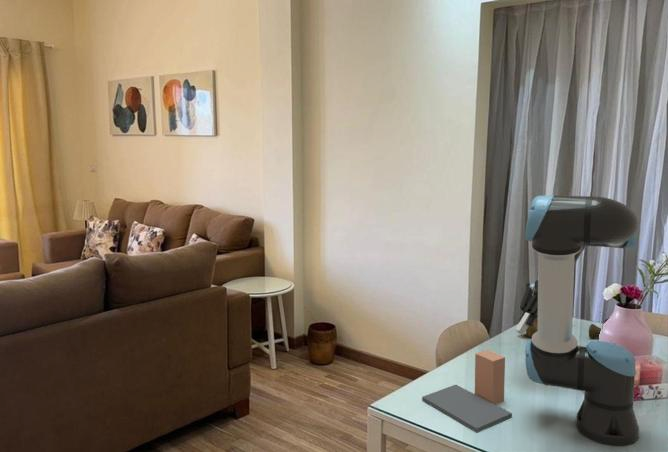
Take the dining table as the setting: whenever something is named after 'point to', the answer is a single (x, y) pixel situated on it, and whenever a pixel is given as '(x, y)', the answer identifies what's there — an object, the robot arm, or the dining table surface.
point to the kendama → (594, 330)
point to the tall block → (490, 376)
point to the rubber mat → (467, 408)
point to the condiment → (529, 332)
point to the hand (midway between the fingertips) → (519, 332)
